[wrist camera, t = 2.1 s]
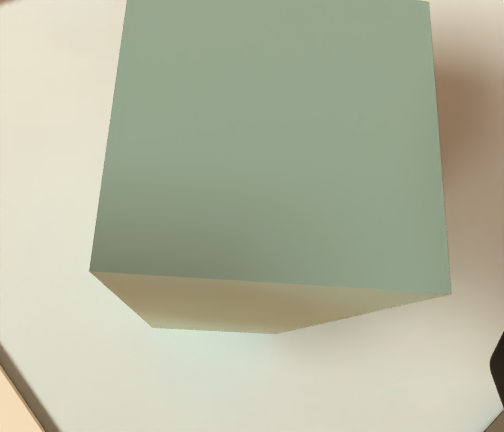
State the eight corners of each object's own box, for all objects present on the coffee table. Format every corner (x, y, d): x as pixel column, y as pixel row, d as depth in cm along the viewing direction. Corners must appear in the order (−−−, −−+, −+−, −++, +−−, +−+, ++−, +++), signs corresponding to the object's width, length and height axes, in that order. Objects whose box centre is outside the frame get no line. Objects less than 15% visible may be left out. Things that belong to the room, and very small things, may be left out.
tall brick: (276, 333, 18) (450, 293, 6) (152, 327, 18) (88, 271, 6) (279, 217, 19) (428, 1, 8) (164, 207, 19) (132, -39, 7)
